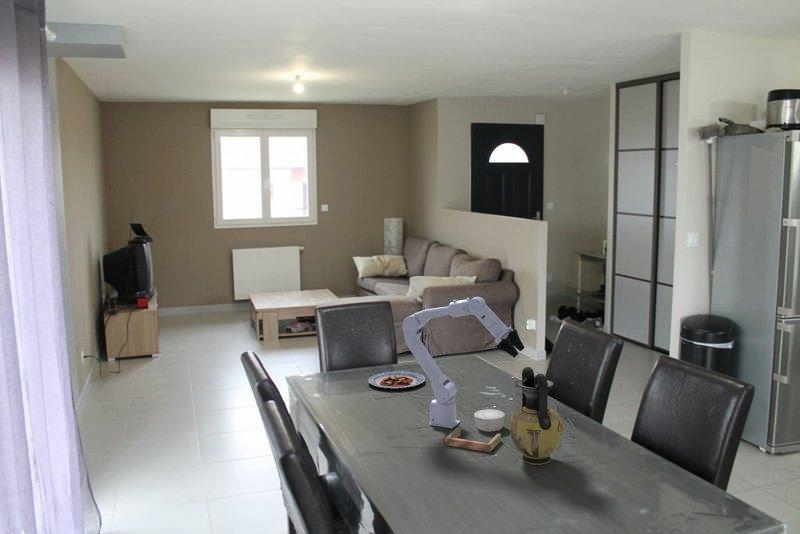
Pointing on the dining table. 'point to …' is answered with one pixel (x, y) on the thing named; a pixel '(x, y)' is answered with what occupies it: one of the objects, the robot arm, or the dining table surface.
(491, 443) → the dock
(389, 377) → the ceramic plate
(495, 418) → the ramekin
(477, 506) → the dining table surface
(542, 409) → the amphora
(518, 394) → the coffee box
